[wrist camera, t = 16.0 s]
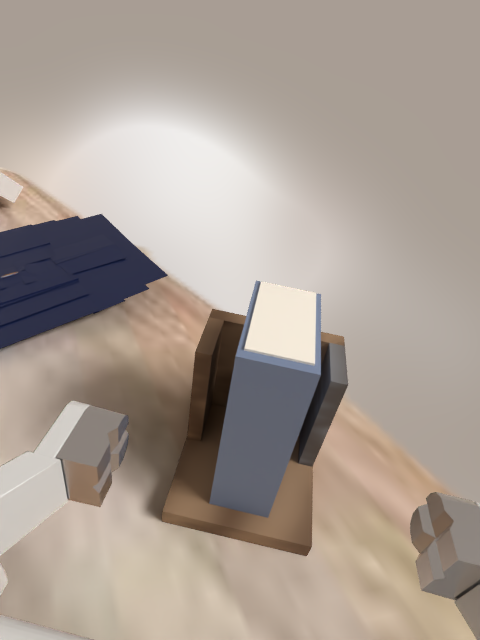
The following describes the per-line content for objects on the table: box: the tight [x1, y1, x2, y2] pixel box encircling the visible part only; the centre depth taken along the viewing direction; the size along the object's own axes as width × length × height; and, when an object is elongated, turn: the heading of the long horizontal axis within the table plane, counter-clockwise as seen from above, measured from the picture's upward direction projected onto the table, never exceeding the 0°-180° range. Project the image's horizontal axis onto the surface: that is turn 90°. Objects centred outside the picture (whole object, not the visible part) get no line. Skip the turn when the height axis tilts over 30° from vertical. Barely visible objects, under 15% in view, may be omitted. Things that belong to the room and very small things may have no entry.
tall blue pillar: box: [209, 281, 321, 518], centre depth 28 cm, size 4×8×15 cm, turn 170°
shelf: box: [162, 309, 348, 556], centre depth 30 cm, size 11×12×12 cm
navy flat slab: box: [0, 214, 168, 349], centre depth 49 cm, size 24×30×4 cm
